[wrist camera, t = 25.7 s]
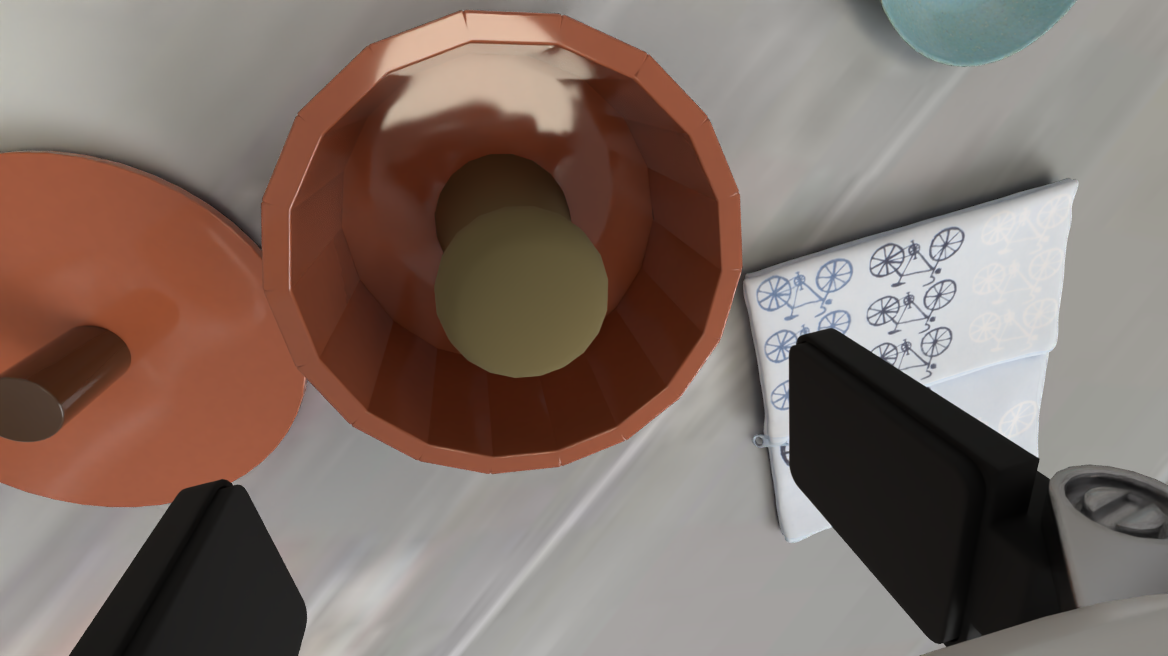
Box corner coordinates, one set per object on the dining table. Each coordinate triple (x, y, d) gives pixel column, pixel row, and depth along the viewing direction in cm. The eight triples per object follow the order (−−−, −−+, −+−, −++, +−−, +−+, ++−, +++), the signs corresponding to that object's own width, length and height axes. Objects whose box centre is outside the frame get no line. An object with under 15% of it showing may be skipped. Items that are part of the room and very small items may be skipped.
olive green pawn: (499, 122, 24) (524, 153, 14) (596, 220, 26) (676, 306, 16) (405, 225, 25) (365, 324, 15) (507, 311, 27) (532, 444, 17)
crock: (387, 399, 28) (359, 518, 21) (267, 64, 22) (161, 57, 14) (676, 333, 30) (748, 420, 22) (645, 2, 24) (732, -33, 16)
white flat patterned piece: (1061, 169, 31) (1102, 175, 29) (1020, 459, 39) (1049, 479, 37) (730, 266, 29) (749, 280, 27) (764, 545, 38) (780, 570, 36)
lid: (19, 526, 27) (-86, 631, 22) (-240, 192, 20) (-480, 232, 15) (359, 445, 29) (336, 525, 24) (226, 113, 22) (153, 124, 17)
